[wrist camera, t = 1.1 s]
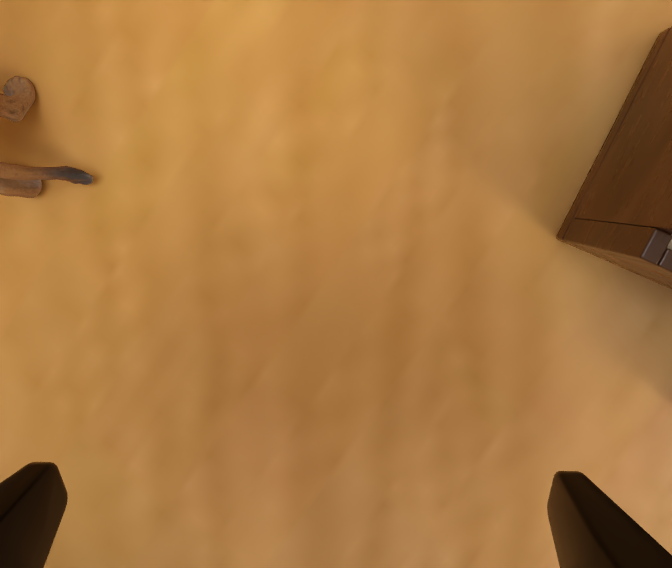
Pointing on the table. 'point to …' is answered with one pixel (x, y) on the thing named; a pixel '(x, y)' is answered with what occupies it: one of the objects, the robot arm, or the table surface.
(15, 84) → the lion figurine
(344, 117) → the table surface
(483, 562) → the table surface
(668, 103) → the brown wooden holder
